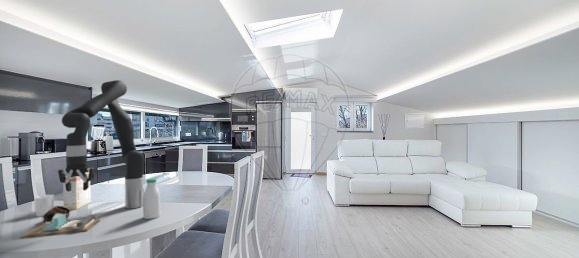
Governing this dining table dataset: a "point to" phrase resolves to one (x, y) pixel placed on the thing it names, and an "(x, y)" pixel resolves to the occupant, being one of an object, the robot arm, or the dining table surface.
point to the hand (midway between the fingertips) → (77, 190)
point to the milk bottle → (151, 200)
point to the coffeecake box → (76, 194)
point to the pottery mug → (51, 212)
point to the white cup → (43, 204)
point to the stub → (56, 223)
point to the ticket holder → (65, 227)
